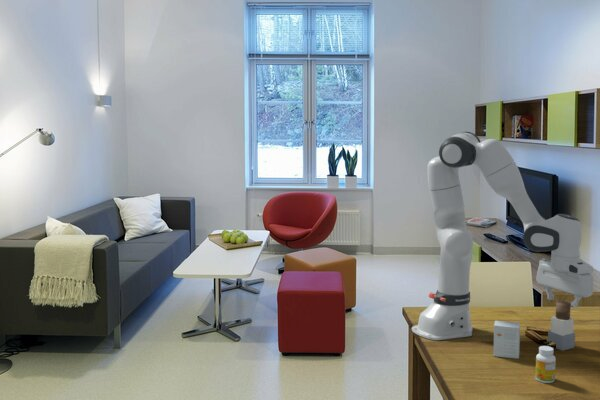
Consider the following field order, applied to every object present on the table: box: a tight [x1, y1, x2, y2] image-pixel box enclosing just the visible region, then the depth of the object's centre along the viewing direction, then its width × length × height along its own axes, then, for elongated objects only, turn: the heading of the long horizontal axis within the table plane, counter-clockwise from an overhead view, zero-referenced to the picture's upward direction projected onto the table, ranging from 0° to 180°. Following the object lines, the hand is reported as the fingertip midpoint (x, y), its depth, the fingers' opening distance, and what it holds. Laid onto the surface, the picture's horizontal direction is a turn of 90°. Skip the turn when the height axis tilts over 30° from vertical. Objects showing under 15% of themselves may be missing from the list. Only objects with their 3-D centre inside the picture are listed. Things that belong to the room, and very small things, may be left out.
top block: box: [550, 315, 575, 336], centre depth 214 cm, size 5×5×5 cm
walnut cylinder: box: [555, 301, 572, 320], centre depth 213 cm, size 4×4×5 cm
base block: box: [547, 330, 576, 352], centre depth 214 cm, size 6×6×5 cm
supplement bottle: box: [534, 345, 557, 384], centre depth 187 cm, size 5×5×10 cm
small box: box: [493, 320, 521, 360], centre depth 207 cm, size 8×6×10 cm
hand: (562, 303), depth 213 cm, fingers open, 8 cm apart
